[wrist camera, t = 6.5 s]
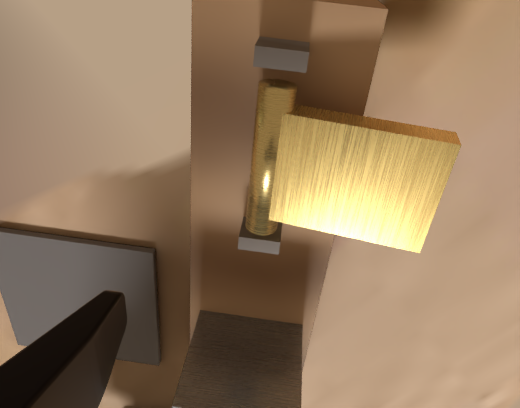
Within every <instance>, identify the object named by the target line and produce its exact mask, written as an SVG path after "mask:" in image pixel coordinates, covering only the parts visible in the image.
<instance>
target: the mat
mask: <svg viewBox="0 0 520 408" xmlns="http://www.w3.org/2000/svg"><path fill="white" fill-rule="evenodd" d="M105 290H111V291H118V292H122V293H124V295H125V301H126V311H127V325H126V329H125V332H124V335H123V338H122V341H121V344H120V347H119V350H118V353H117V356H116V359H118V360H124V361H131V362H138V363H145V364H151V365H158V366H159V365H160V362H161V354H160V335H159V316H158V297H157V277H156V258H155V249H152V248H145V247H138V246H131V245H124V244H116V243H109V242H102V241H95V240H88V239H81V238H73V237H66V236H59V235H52V234H45V233H37V232H30V231H23V230H16V229H9V228H2V227H0V291H1V294H2V297H3V300H4V303H5V306H6V309H7V312H8V315H9V318H10V322H11V325H12V328H13V331H14V334H15V337H16V340H17V343H18V345H24V346H28V345H30V344H31V343H32V342H34V341H35V340H36V339H38V338H39V337H41V336H42V335H43V334H45V333H46V332H47V331H49V330H50V329H52V328H53V327H54V326H56V325H57V324H58V323H60V322H61V321H63V320H64V319H65V318H67V317H68V316H69V315H71V314H72V313H74V312H75V311H76V310H78V309H79V308H80V307H82V306H83V305H84V304H86V303H87V302H89V301H90V300H91V299H93V298H94V297H95V296H97V295H98V294H100V293H101V292H102V291H105Z"/></svg>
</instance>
